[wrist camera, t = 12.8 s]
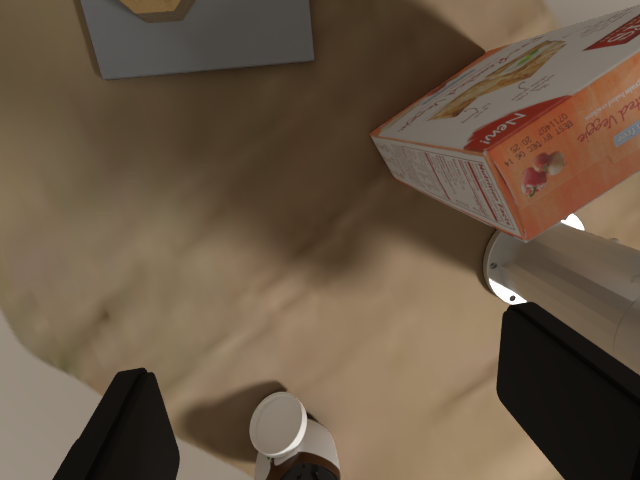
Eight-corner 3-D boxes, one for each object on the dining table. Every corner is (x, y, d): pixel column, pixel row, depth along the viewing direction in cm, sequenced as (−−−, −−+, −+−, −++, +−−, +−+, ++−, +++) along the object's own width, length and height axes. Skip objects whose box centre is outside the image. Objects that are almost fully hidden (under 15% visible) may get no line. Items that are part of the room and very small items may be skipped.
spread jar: (293, 471, 49) (301, 573, 38) (222, 441, 45) (208, 543, 35) (348, 411, 47) (373, 501, 36) (277, 374, 43) (282, 461, 32)
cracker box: (485, 46, 34) (776, -45, 15) (508, 103, 36) (788, 87, 17) (363, 130, 35) (485, 148, 16) (392, 180, 37) (531, 251, 18)
